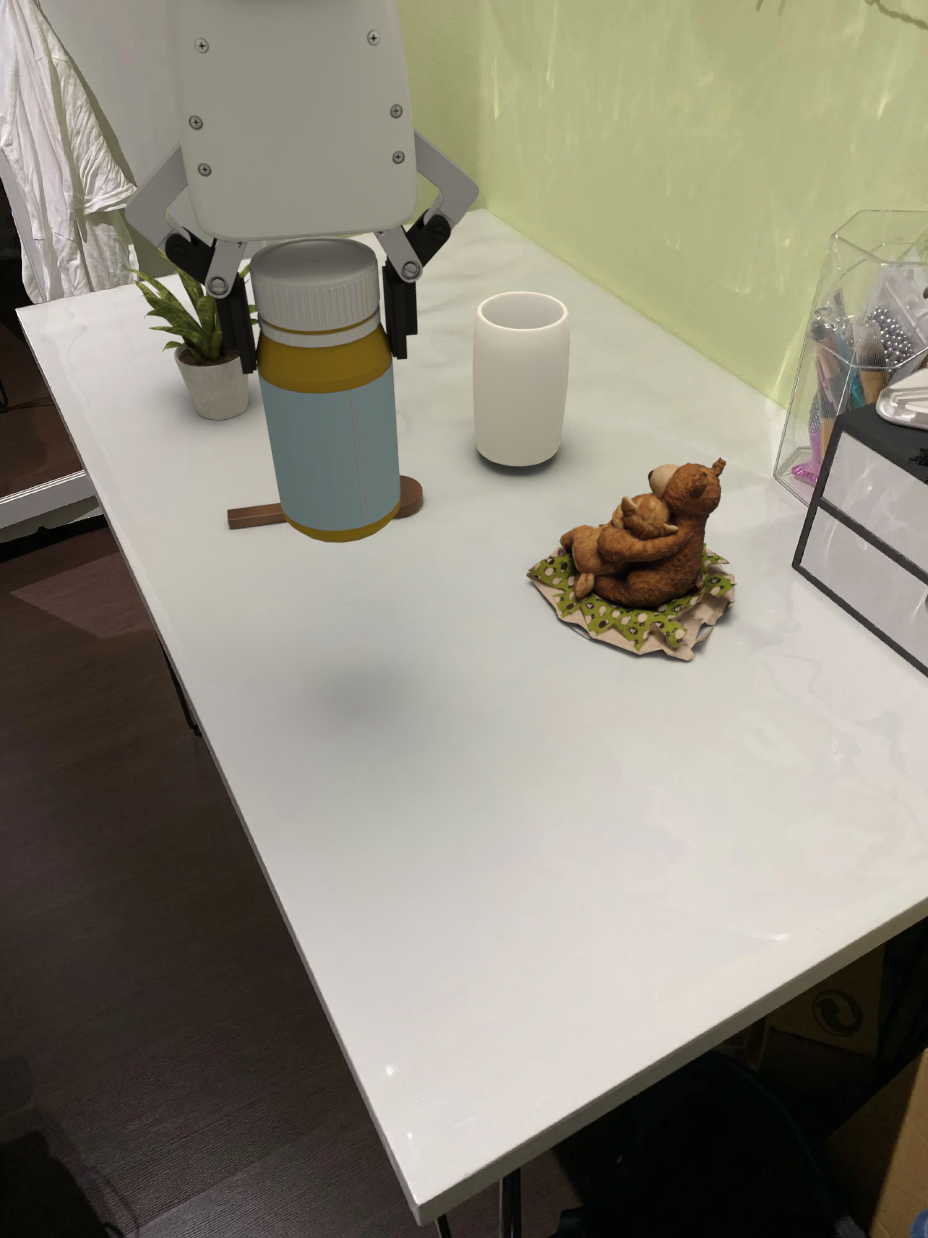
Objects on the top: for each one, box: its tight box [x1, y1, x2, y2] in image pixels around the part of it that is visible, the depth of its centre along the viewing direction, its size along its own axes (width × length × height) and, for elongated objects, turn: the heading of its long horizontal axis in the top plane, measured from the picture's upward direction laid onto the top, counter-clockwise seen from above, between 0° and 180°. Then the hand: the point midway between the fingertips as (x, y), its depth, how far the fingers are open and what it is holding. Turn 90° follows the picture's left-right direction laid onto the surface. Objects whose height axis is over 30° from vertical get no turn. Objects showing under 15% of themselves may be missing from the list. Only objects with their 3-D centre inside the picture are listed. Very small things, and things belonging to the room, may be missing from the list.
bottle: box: [249, 236, 401, 544], centre depth 49 cm, size 7×7×15 cm
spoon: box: [226, 474, 424, 530], centre depth 79 cm, size 17×5×1 cm, turn 102°
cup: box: [472, 291, 571, 467], centre depth 81 cm, size 8×8×14 cm
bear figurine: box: [525, 457, 738, 662], centre depth 67 cm, size 14×15×12 cm
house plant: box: [122, 245, 259, 421], centre depth 88 cm, size 14×14×16 cm
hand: (323, 352), depth 47 cm, fingers closed on bottle, 7 cm apart
